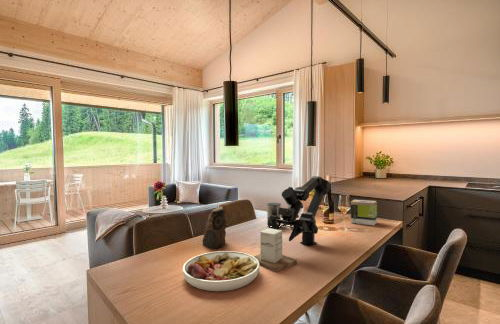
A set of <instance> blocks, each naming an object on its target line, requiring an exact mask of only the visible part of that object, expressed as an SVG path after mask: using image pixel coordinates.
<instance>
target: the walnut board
mask: <svg viewBox="0 0 500 324" xmlns="http://www.w3.org/2000/svg"><path fill="white" fill-rule="evenodd" d="M253 257H255V258H256V259H257V260H258V261H259V266H260V267H264V268H266V269H268V270H271V271H272V272H275V273H278V272H280V271H282V270H284V269H286V268H290V267H291V266H295V265H297V262H298V261H297V259H295V258H292V257H289V256H288V255H287V256H286V255H284V254H282V258H281V259H280V260H278V261H277V262H275V263H273V262H269V261H265V260H261V253H260V254H258V255H253Z"/></svg>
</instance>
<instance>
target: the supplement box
mask: <svg viewBox="0 0 500 324" xmlns="http://www.w3.org/2000/svg"><path fill="white" fill-rule="evenodd" d="M260 254H261V260H265V261H269V262H273V263H275V262H277V261H278V260H280V259H281V258H282V255H283V230H282V229H279V230H276V229H272V228H270V227H267V228H266V229H263V230H261V231H260Z"/></svg>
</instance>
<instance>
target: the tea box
mask: <svg viewBox="0 0 500 324" xmlns="http://www.w3.org/2000/svg"><path fill="white" fill-rule="evenodd" d="M355 223H356V225H357V224H358V225H365V226H376V225H377V223H378V202H377V200H367V199H366V200H365V199H353V200H351V201H350V224H355ZM375 224H376V225H375Z"/></svg>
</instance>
